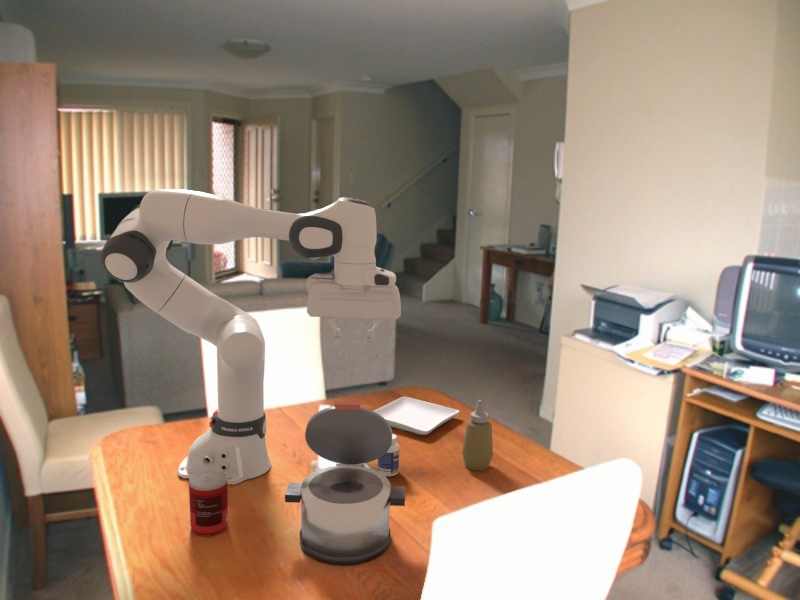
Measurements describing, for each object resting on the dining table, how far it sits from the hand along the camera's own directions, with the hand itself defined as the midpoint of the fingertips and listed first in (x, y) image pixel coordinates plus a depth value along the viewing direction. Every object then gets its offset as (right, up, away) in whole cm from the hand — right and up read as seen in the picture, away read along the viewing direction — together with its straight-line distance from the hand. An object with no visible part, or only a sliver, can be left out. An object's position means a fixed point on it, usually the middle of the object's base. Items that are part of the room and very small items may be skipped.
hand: (353, 337), depth 142 cm
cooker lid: (-1, -20, -7) cm, 21 cm away
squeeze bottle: (+30, -35, +28) cm, 54 cm away
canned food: (-30, -40, -4) cm, 50 cm away
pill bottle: (+7, -36, +23) cm, 43 cm away
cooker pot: (-1, -41, -7) cm, 42 cm away
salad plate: (+14, -29, +58) cm, 66 cm away
